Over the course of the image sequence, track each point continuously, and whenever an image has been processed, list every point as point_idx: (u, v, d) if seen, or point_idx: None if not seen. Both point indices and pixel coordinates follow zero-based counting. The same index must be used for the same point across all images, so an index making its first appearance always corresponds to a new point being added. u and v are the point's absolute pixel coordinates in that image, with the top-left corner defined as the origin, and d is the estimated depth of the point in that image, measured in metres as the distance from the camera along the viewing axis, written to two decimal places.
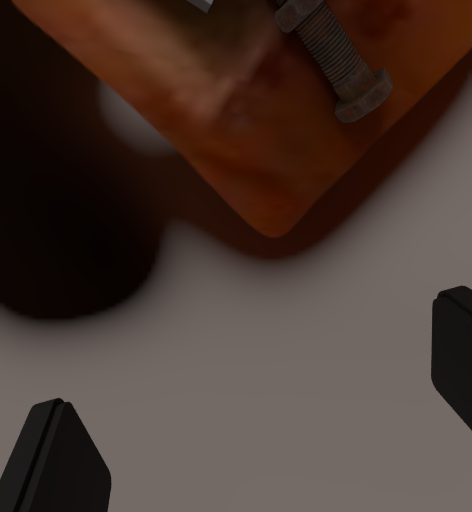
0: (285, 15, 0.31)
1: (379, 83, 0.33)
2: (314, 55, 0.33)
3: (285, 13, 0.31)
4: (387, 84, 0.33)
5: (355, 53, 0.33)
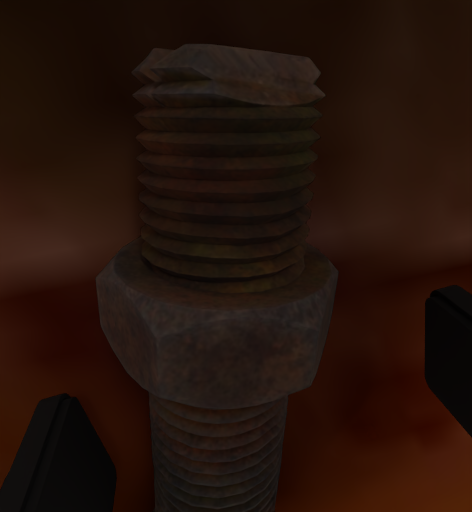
0: (122, 317, 0.06)
1: None
2: None
3: (125, 316, 0.06)
4: None
5: None
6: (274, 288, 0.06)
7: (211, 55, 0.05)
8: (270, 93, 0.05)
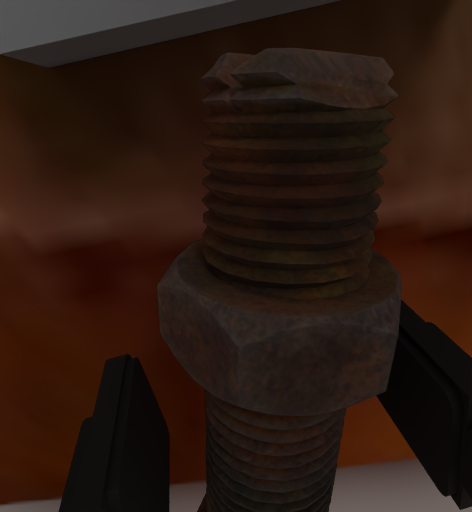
0: (192, 325, 0.06)
1: None
2: (210, 450, 0.09)
3: (195, 324, 0.06)
4: None
5: None
6: (346, 294, 0.06)
7: (295, 59, 0.05)
8: (350, 96, 0.05)
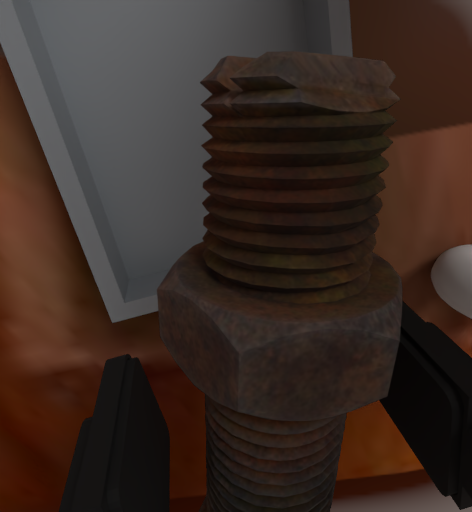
0: (192, 330, 0.06)
1: None
2: None
3: (195, 328, 0.06)
4: None
5: None
6: (347, 298, 0.06)
7: (296, 63, 0.05)
8: (351, 99, 0.05)
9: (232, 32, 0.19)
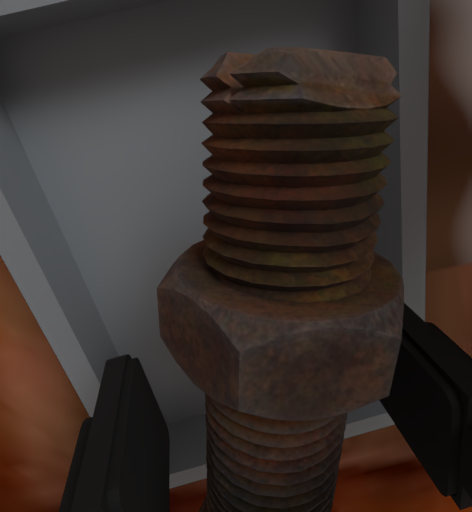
0: (192, 329, 0.06)
1: None
2: None
3: (196, 327, 0.06)
4: None
5: None
6: (348, 297, 0.06)
7: (297, 58, 0.05)
8: (353, 96, 0.05)
9: None
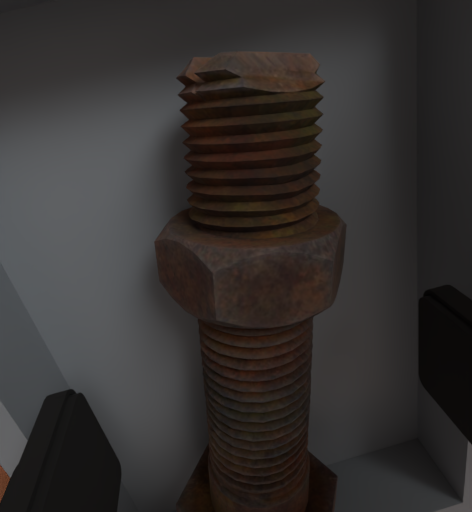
0: (181, 266, 0.08)
1: None
2: (206, 380, 0.11)
3: (183, 264, 0.08)
4: None
5: (300, 445, 0.11)
6: (296, 234, 0.08)
7: (239, 59, 0.07)
8: (283, 83, 0.07)
9: None
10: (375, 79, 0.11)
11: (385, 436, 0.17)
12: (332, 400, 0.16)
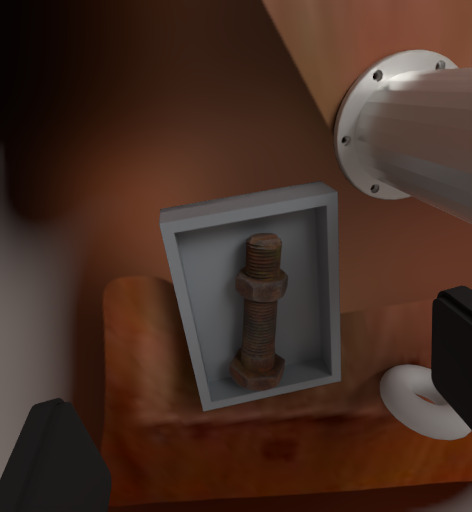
0: (244, 285, 0.34)
1: (271, 377, 0.36)
2: (244, 319, 0.36)
3: (245, 285, 0.33)
4: (276, 382, 0.36)
5: (272, 342, 0.36)
6: (273, 279, 0.33)
7: (262, 242, 0.32)
8: (271, 246, 0.32)
9: None
10: (303, 232, 0.36)
11: (308, 354, 0.42)
12: (287, 336, 0.41)
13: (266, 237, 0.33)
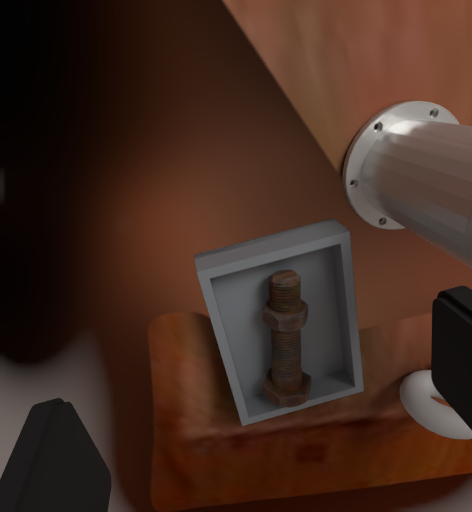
0: (270, 318, 0.38)
1: (301, 394, 0.41)
2: (272, 345, 0.41)
3: (271, 318, 0.38)
4: (305, 398, 0.41)
5: (298, 363, 0.41)
6: (295, 311, 0.38)
7: (283, 281, 0.37)
8: (292, 283, 0.37)
9: (302, 299, 0.42)
10: (321, 263, 0.40)
11: (332, 368, 0.47)
12: (312, 354, 0.45)
13: (286, 274, 0.38)
